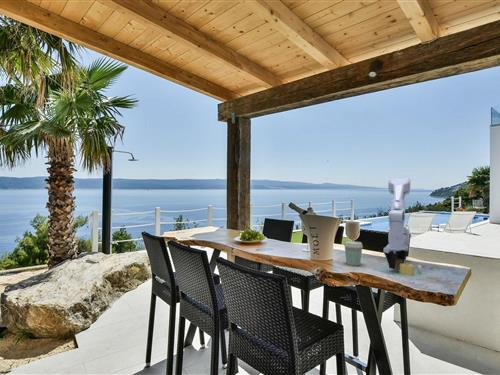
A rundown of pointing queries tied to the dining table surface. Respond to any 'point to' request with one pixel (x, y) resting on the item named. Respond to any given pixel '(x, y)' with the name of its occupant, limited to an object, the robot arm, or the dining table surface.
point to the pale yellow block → (407, 269)
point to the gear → (398, 263)
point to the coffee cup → (353, 252)
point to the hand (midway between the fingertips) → (395, 267)
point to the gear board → (416, 275)
